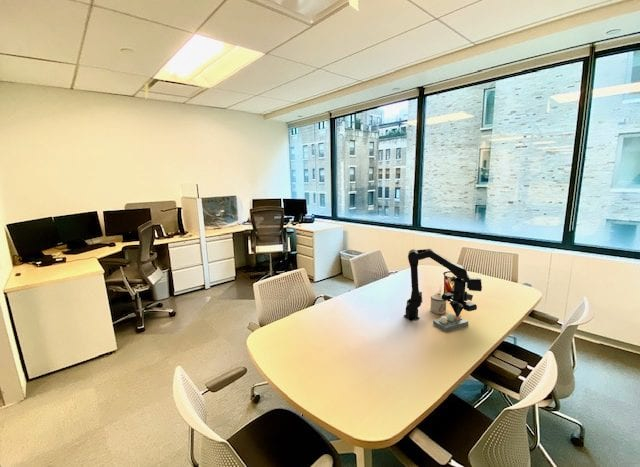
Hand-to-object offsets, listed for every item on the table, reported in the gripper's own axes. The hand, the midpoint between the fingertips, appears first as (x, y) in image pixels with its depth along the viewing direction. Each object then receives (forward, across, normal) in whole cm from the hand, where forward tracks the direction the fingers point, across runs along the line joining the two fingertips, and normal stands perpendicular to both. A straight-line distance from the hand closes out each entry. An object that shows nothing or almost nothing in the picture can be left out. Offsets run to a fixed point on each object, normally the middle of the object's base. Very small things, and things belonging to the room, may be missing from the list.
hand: (457, 316), depth 162 cm
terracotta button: (+4, 0, 0) cm, 4 cm away
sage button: (+2, 0, +5) cm, 5 cm away
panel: (+4, 0, +5) cm, 6 cm away
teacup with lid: (+4, +16, -3) cm, 17 cm away
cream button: (+2, 0, +10) cm, 10 cm away
